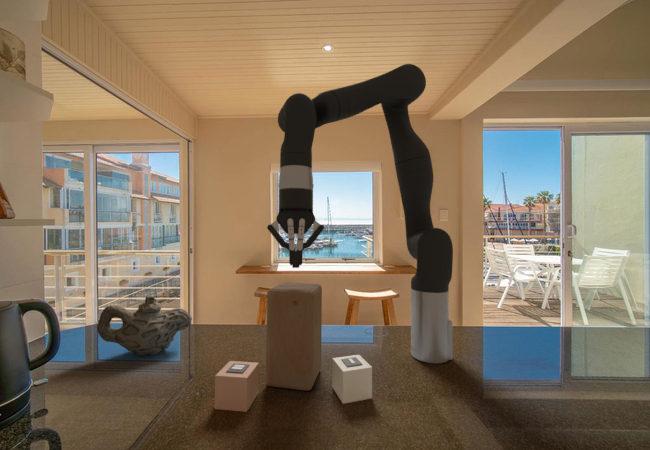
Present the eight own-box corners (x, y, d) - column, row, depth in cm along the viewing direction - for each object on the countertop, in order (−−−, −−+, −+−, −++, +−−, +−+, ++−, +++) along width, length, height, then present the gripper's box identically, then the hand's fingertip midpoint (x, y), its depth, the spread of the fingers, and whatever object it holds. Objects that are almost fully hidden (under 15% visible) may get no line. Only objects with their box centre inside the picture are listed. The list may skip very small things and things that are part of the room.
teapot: (191, 339, 85) (192, 288, 85) (191, 354, 75) (193, 295, 75) (102, 351, 76) (103, 294, 76) (88, 370, 65) (90, 304, 66)
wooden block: (311, 393, 57) (312, 291, 57) (264, 387, 59) (265, 289, 59) (322, 369, 67) (322, 283, 67) (281, 365, 69) (282, 281, 69)
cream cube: (358, 383, 61) (359, 353, 61) (372, 398, 55) (372, 365, 56) (332, 387, 59) (332, 356, 59) (342, 404, 54) (343, 369, 54)
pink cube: (258, 393, 57) (258, 360, 57) (246, 412, 51) (247, 375, 51) (229, 391, 58) (230, 359, 58) (214, 409, 52) (215, 373, 52)
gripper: (323, 192, 68) (323, 265, 68) (266, 190, 67) (266, 265, 66) (328, 187, 61) (327, 269, 60) (264, 185, 59) (263, 270, 59)
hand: (295, 267), depth 63 cm, fingers closed
